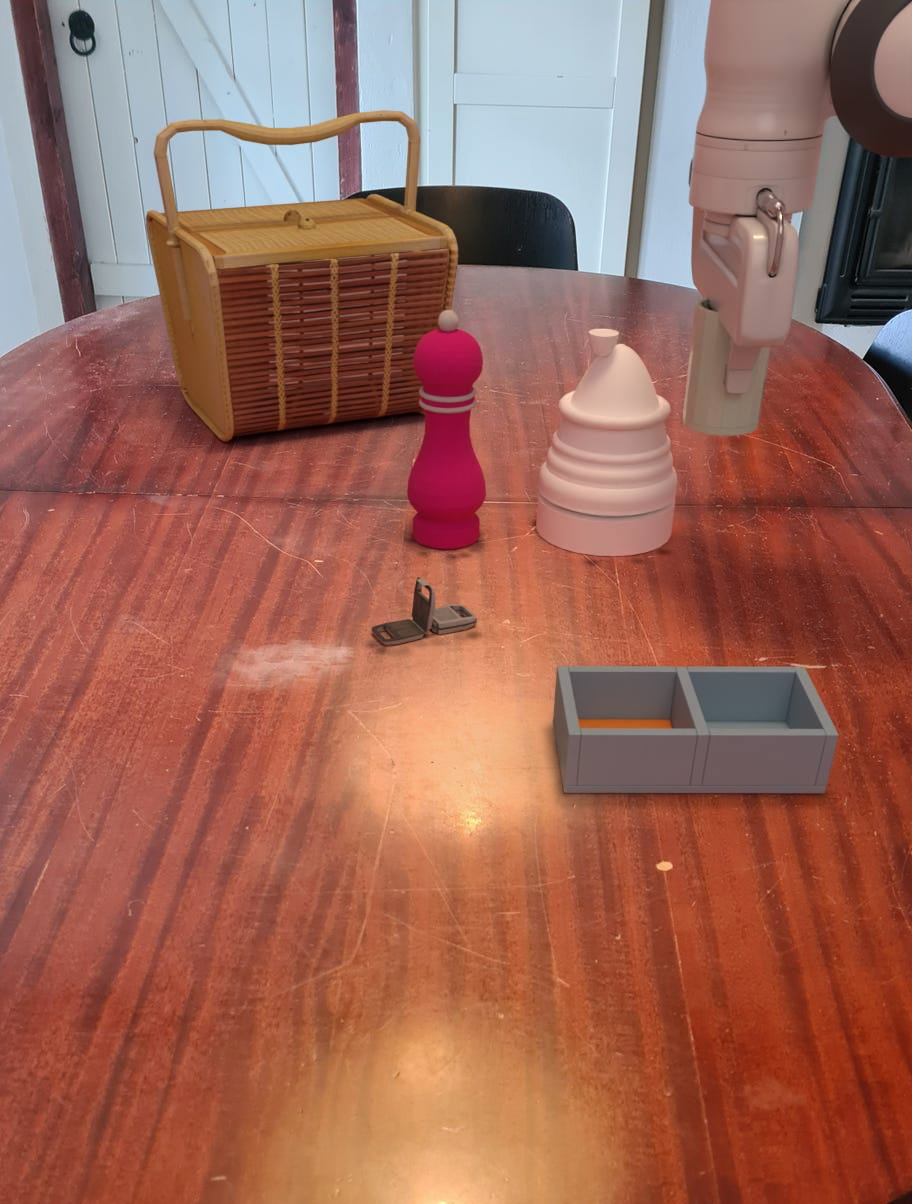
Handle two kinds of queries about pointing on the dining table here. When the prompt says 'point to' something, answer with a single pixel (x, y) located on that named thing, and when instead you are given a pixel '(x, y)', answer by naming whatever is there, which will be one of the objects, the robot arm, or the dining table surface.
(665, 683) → the holder
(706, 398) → the cup
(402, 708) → the dining table surface
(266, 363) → the picnic basket
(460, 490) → the pepper mill
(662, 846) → the dining table surface
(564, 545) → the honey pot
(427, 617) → the strap clip
